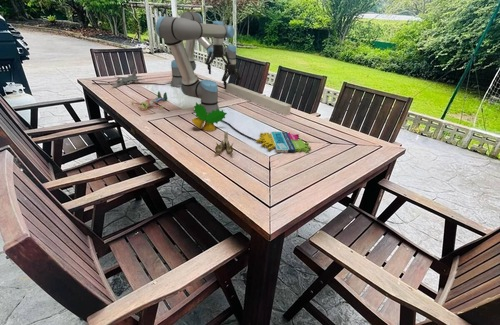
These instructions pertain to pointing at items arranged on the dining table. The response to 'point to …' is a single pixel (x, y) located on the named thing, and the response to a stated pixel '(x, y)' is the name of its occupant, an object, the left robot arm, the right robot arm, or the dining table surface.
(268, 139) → the sign
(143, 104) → the toy
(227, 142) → the jawbone
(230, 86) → the post
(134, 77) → the airplane
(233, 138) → the dining table surface
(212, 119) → the ornament
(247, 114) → the dining table surface
